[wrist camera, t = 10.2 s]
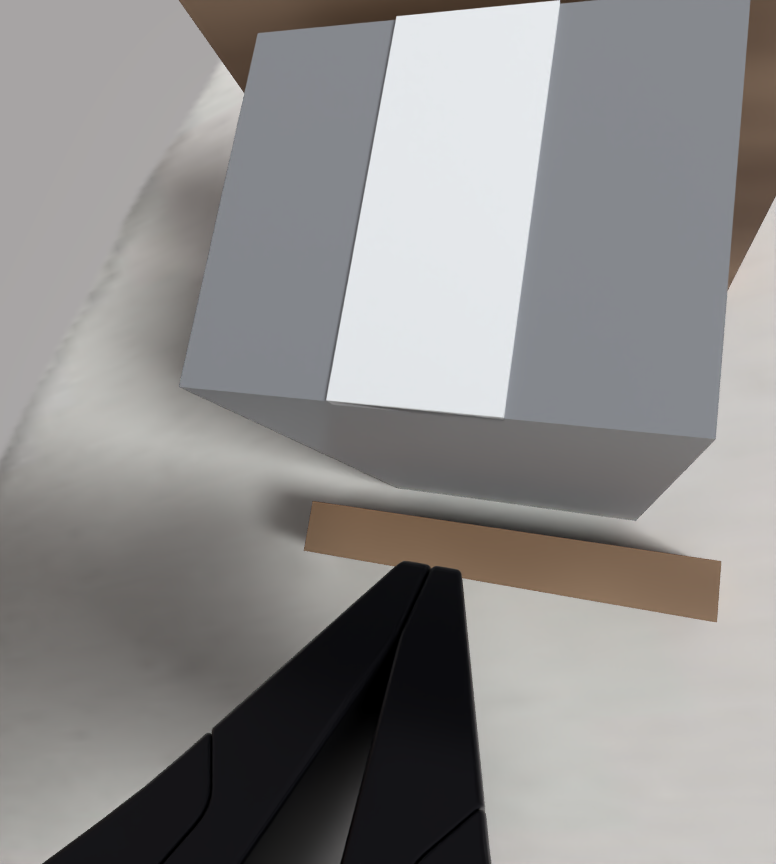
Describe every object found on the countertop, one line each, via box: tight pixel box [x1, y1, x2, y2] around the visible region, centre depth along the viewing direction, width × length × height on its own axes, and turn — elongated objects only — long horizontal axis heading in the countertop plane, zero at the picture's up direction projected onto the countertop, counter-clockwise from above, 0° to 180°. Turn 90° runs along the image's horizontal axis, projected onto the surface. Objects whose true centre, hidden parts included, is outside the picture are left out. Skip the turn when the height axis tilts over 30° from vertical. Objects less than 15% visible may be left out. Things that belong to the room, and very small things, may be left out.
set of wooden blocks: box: [179, 0, 776, 622], centre depth 12 cm, size 10×9×10 cm
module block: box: [179, 0, 750, 521], centre depth 12 cm, size 5×6×10 cm
